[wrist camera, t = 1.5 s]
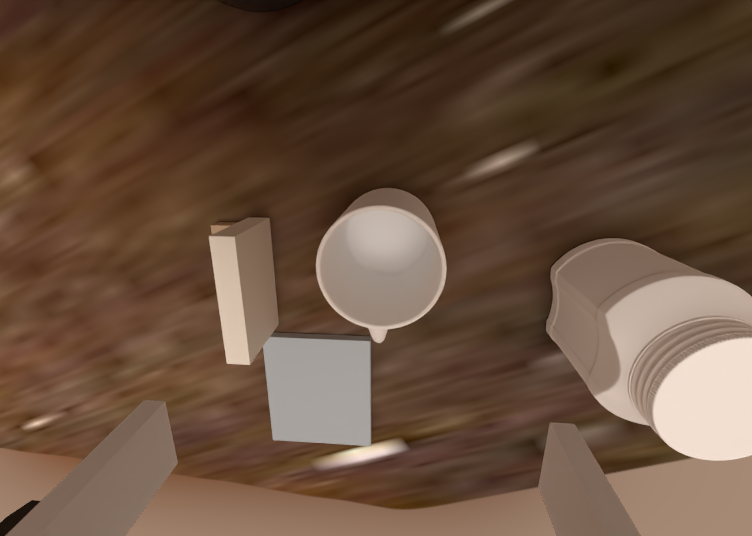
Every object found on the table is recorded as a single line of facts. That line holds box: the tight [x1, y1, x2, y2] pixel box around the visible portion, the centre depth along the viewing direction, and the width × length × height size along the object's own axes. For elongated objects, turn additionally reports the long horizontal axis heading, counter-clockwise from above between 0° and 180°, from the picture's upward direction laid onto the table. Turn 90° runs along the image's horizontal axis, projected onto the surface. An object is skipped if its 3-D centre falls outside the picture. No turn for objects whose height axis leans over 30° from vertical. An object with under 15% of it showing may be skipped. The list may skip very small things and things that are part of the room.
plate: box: [263, 332, 371, 446], centre depth 40 cm, size 13×11×1 cm
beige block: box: [209, 217, 279, 365], centre depth 33 cm, size 11×5×8 cm, turn 0°
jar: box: [546, 238, 752, 460], centre depth 28 cm, size 12×10×15 cm
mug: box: [316, 188, 447, 343], centre depth 30 cm, size 9×12×11 cm
